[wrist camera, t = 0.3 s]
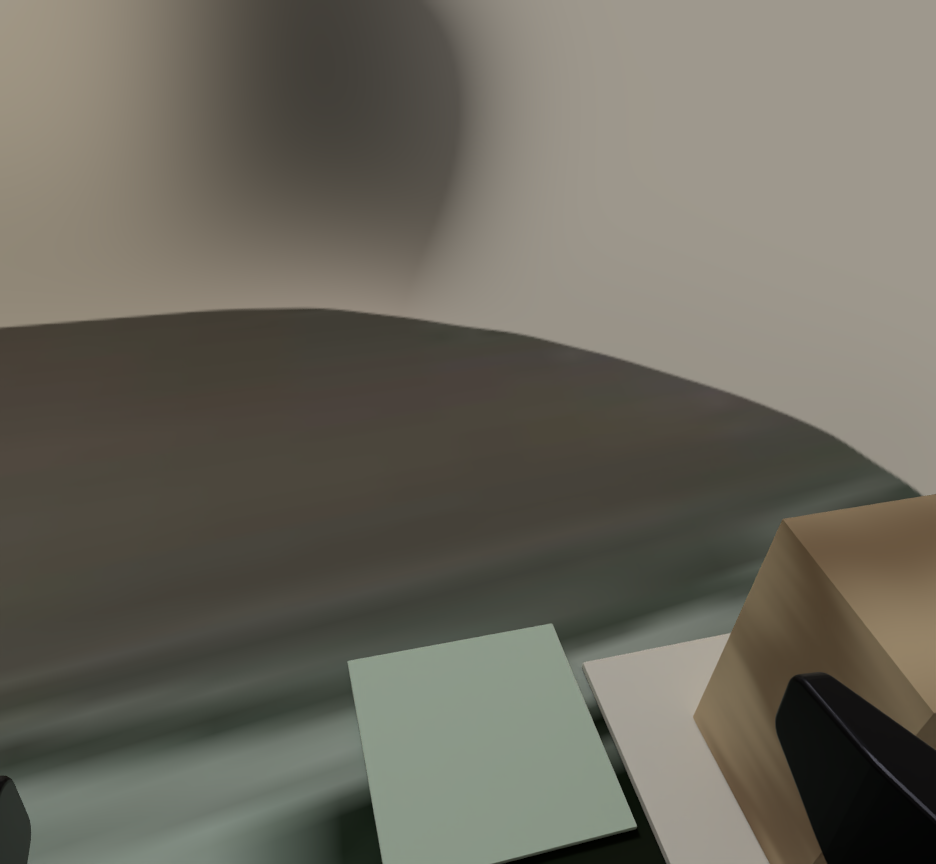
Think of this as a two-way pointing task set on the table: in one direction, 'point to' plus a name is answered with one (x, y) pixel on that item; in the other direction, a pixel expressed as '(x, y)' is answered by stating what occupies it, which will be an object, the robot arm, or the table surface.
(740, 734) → the oak block
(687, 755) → the tile
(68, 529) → the table surface
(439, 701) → the green mat
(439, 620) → the table surface
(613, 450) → the table surface
